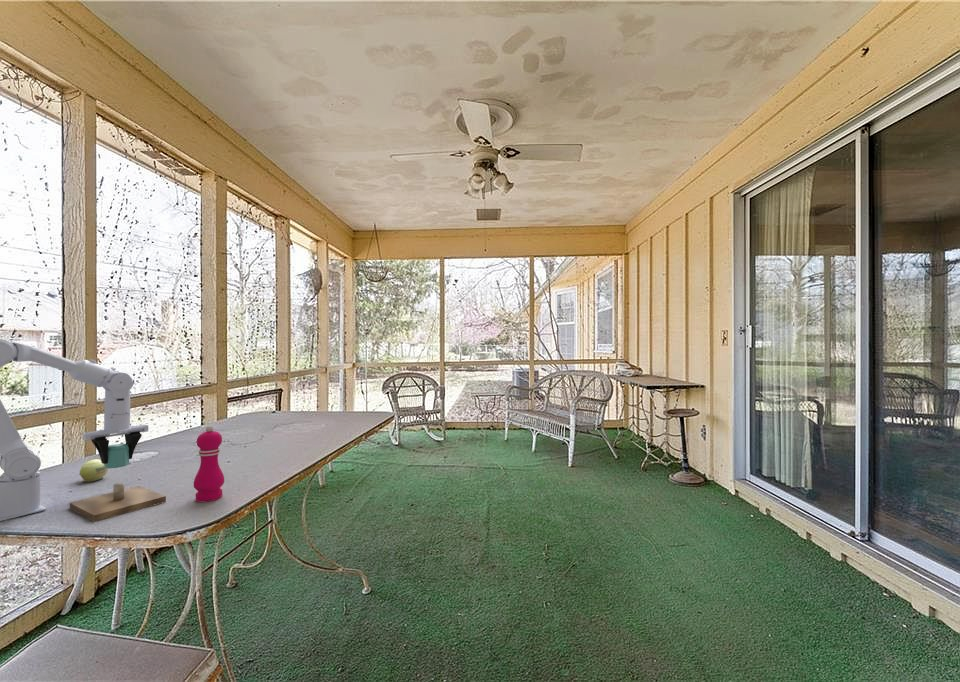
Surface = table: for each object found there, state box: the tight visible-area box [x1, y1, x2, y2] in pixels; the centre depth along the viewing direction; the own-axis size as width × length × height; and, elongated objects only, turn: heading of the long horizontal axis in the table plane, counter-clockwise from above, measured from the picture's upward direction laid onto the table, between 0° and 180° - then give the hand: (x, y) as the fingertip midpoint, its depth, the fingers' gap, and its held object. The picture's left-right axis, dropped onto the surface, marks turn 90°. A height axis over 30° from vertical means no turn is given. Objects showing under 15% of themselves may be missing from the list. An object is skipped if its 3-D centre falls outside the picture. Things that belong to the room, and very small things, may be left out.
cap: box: [104, 443, 130, 470], centre depth 122 cm, size 5×5×6 cm
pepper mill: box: [193, 425, 225, 503], centre depth 118 cm, size 7×7×20 cm
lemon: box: [79, 458, 109, 483], centre depth 133 cm, size 6×7×7 cm
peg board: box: [69, 482, 167, 522], centre depth 112 cm, size 15×16×6 cm
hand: (116, 460), depth 122 cm, fingers closed on cap, 5 cm apart
